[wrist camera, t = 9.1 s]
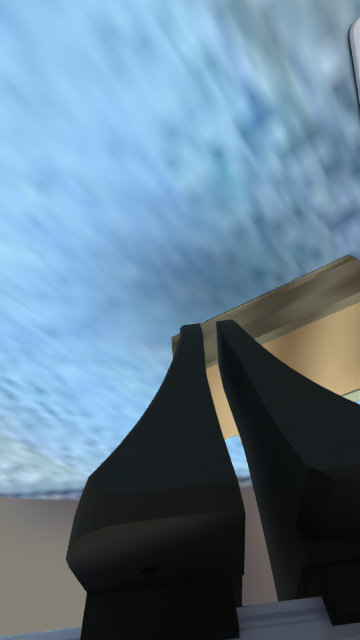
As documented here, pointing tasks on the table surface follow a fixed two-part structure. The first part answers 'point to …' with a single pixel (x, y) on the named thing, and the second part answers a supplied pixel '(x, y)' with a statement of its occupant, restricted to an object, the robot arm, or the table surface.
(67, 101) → the table surface
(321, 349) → the tan wooden crate
